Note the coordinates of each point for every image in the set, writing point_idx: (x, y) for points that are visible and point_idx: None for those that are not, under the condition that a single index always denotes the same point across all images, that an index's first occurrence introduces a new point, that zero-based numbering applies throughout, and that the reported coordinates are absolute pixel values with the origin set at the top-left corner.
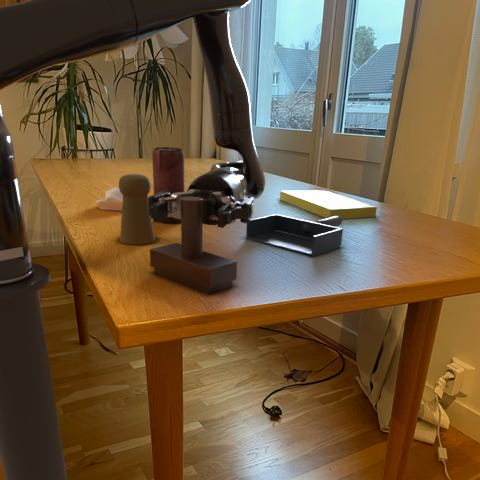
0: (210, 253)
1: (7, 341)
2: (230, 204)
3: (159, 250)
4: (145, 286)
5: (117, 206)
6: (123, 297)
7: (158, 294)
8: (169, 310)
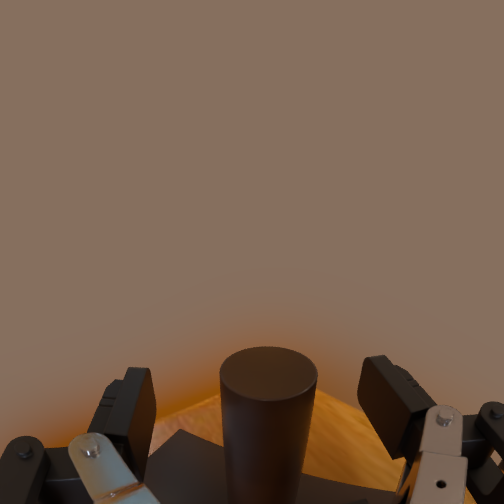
0: None
1: (498, 465)
2: (95, 433)
3: (372, 496)
4: (336, 467)
5: None
6: (334, 421)
7: None
8: None
